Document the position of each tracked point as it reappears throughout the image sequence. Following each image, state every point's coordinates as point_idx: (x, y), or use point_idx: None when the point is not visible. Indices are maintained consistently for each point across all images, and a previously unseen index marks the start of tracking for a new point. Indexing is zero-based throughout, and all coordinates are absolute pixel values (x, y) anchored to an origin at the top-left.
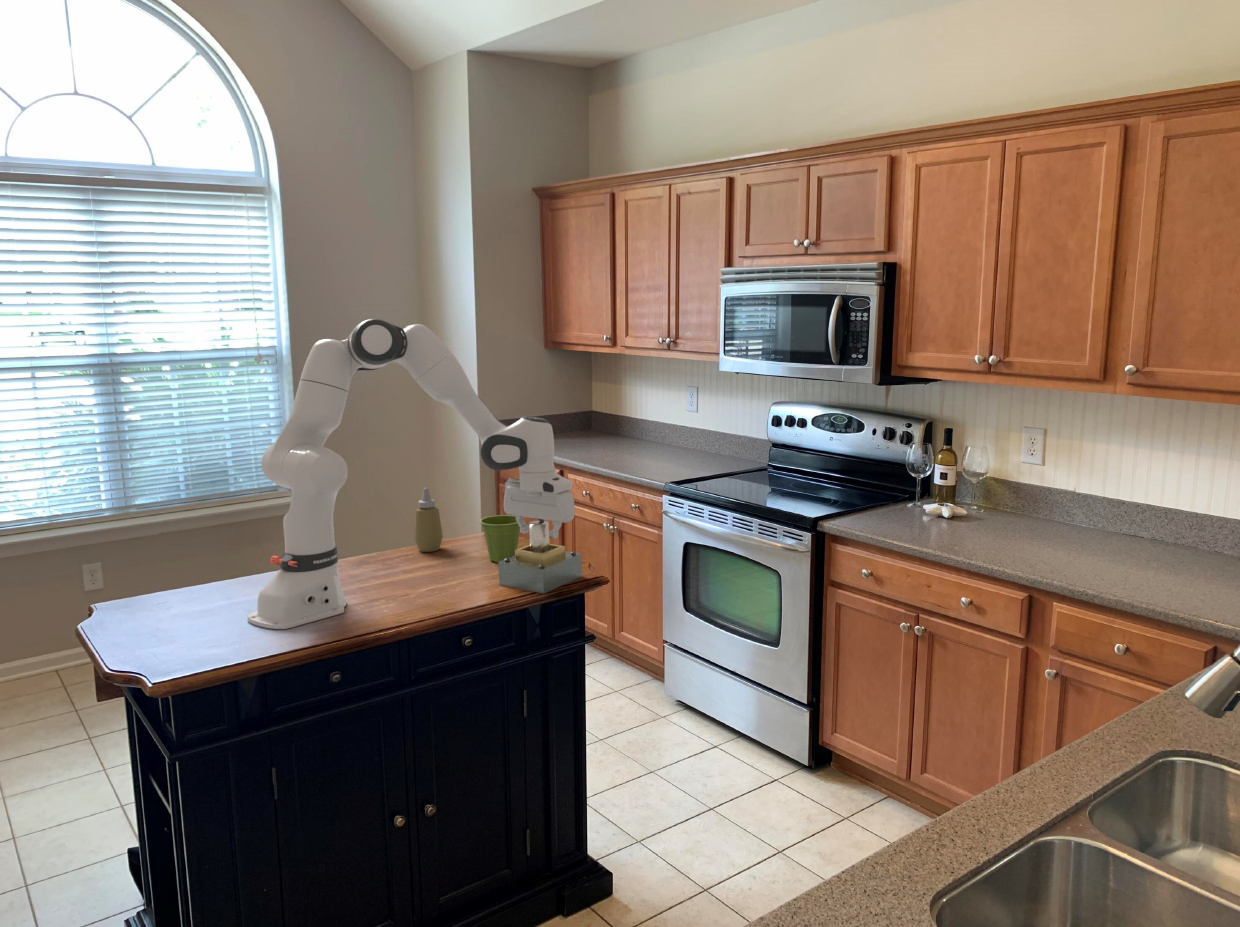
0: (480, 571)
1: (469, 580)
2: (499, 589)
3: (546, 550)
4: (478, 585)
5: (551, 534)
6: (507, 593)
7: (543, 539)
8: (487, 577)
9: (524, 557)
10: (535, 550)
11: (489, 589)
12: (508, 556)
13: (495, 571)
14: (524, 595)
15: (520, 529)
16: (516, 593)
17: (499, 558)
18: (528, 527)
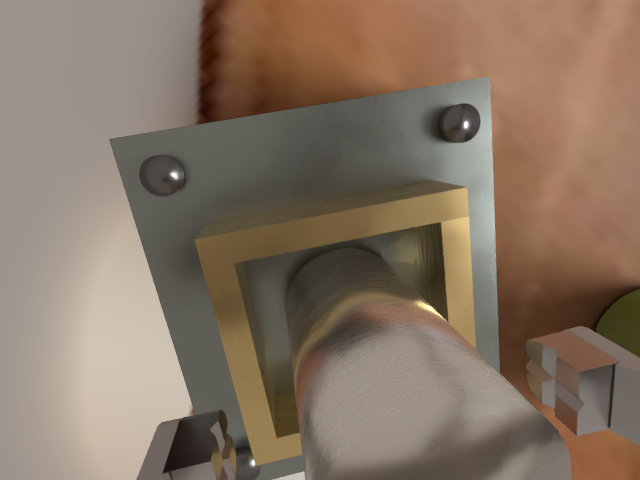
0: (617, 175)
1: (579, 51)
2: (374, 46)
3: (289, 338)
4: (497, 24)
5: (187, 438)
6: (297, 25)
7: (297, 368)
8: (540, 137)
9: (366, 196)
10: (331, 275)
11: (413, 13)
12: (614, 335)
13: (565, 216)
14: (208, 59)
15: (599, 339)
16: (263, 56)
17: (635, 303)
18: (560, 419)
